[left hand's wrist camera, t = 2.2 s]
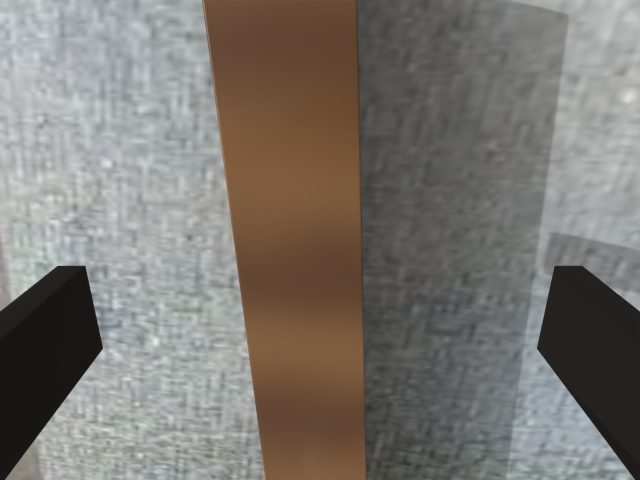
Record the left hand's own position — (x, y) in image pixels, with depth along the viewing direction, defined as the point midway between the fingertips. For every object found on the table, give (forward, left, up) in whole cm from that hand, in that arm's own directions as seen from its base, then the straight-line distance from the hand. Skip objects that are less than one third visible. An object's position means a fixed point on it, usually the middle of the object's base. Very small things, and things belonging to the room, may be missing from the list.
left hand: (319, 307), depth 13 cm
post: (+11, +17, -14) cm, 25 cm away
